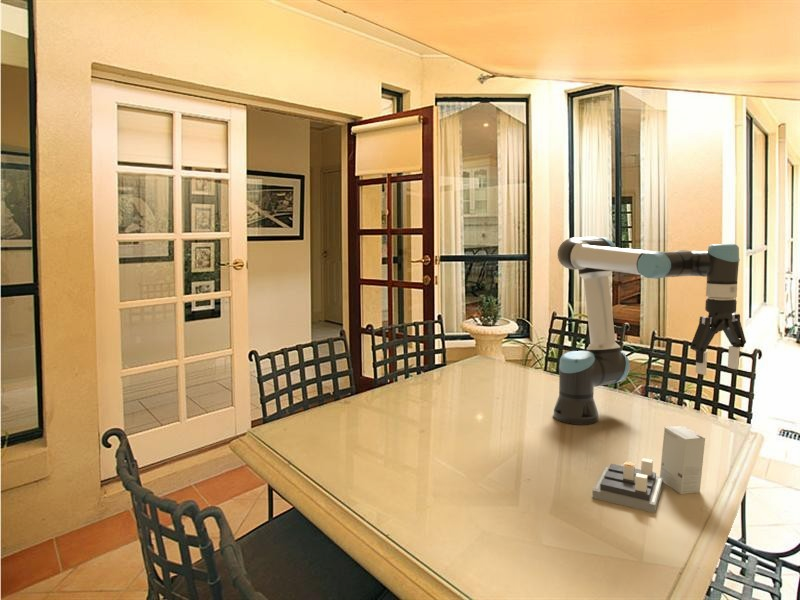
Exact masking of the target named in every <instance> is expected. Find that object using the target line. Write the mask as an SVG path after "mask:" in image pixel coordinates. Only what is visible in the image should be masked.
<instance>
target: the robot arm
mask: <svg viewBox="0 0 800 600" xmlns="http://www.w3.org/2000/svg"><path fill="white" fill-rule="evenodd" d="M557 249H558V250H557V259H558V261H559V263H560V265H562V266H563V267H564V268H566V269H569V270H578V276H579V277H580V278H582V280H583V284H584V285H583V286H584V294H585V295H584V296H585V303H586V305H585V306H586V314H587V322H588V333H589V341H590V342H589V345H588V346H587V347H586V350H578V351H577V350H571V351H567V352H565V353H563V354H562V355H561V357H560V358H559V364H558V373H559V374H558V375H559V376H558V380H559V384H558V385H559V386H558V398H557V400H556V403H555V404H554V408H553V417H554V418H555V419H556V420H557V419H558V421H559V420H560V421H559V422H562V423H565V422H566V424H570V423H571V425H582V426H584V425H591V424H595V423H597V422H598V421H599V411H598V408H597V405H596V402H595V399H594V387H599V386H605V385H606V386H607V385H614V384H616V383H620V382H623V381H624V380H625V378H627V377H628V374H629V372H630V360H629V357H628V356H626V353H625V352H624V351H622V349H621V345H619V344H618V343H617V342H616V333H615V325H614V315H613V305H612V298H611V288H610V287H611V286H610V278H609V277H610V275H611V274H612V272H617V273H624V274H632V275H639V276H642V277H644V278H646V279H654V280H655V279H656V280H657V279H661V278H675V277H706V286H705V287H706V288H705V296H706V299H705V309H704V310H705V311H706V312H708V315H707V316H704V315H700V316H699V320H698V321H699V322H698V326H697V329H696V331H695V334H694V337H693V339H692V342H691V344H690V346H689V347H690V348H689V349H690V350H693V351H695V374H699V375H702V376H707V368H708V367H707V364H708V352H707V351H706V350H707V349H708V347H709V346H710V343H711V342H712V340H713V339H714V337H715V335H717V334H718V333H719V332H723V333H724V335H725V336H726V338H727V340H728V342H729V343H730V345H729V346H728V356H727V357H728V358H727V368H729V369H733V370H739V363H740V354H741V348H744V347H745V344H747V340H746V337H745V333H744V330H743V325H742V323H741V314H740V313H736V312H737V302H738V301H737V296H738V277H739V265H740V261H741V260H740V247H739V246H738V244H735V243H713V244H709V246H708V249H707V250H687V249H684V250H683V249H682V250H674V251H655V250H643V249H636V248H635V249H633V248H623V247H622V248H621V247H617V246H616V244H615V243H614V242H613V241H612V240H611V239H610V238H608V237H605V236H582V237H581V236H580V237H578V236H577V237H576V236H574V237H570V238H568V239H566V240H564V241H563V242H562V243H560V245H559V247H558V248H557Z"/></svg>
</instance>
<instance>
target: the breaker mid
mask: <svg viewBox="0 0 800 600" xmlns="http://www.w3.org/2000/svg"><path fill="white" fill-rule="evenodd" d="M622 466H623V478H624V479H628V480H634V478H635V469H636V464H635V463H634V462H630V461H625V462H624V463H623V465H622Z"/></svg>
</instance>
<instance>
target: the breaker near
mask: <svg viewBox="0 0 800 600" xmlns="http://www.w3.org/2000/svg"><path fill="white" fill-rule="evenodd" d="M647 478H648V475H644V474H639V473H637V474H636V476H635V490H637V491H642V492H646V491H647Z"/></svg>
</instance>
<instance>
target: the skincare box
mask: <svg viewBox="0 0 800 600" xmlns="http://www.w3.org/2000/svg"><path fill="white" fill-rule="evenodd" d="M705 442H706V438H705V437H704V436H703V435H700V434H698V433H697V432H696V431H694V430H692V429H689V428H687V427H685V426H684V425H675V426H674V425H673V426H664V429H663V442H662V453H661V461H660V463H661V464H660V471H659V472H660V475H659V477H662V478H663V484H665V485H667V486H669V487H670V488H671V489H672V490H674V491H676V492H677V493H678V494H680V495H685V494H694V493H695V494H696V493H697V494H698V493H700V492H701V483H702V473H703V464H704V463H703V462H704V452H705V445H706V443H705Z"/></svg>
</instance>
